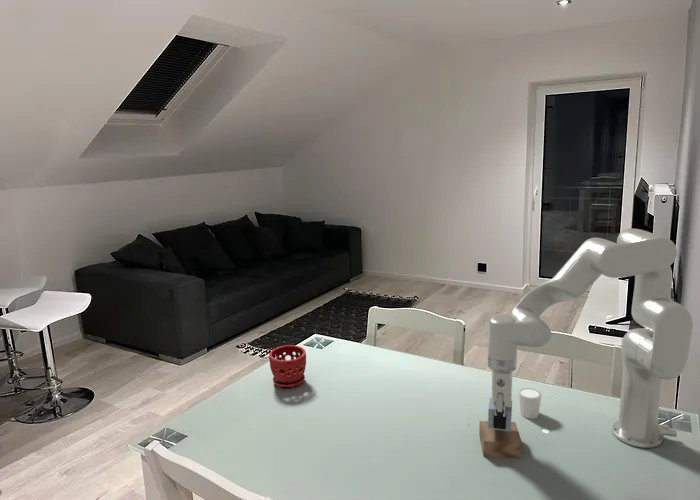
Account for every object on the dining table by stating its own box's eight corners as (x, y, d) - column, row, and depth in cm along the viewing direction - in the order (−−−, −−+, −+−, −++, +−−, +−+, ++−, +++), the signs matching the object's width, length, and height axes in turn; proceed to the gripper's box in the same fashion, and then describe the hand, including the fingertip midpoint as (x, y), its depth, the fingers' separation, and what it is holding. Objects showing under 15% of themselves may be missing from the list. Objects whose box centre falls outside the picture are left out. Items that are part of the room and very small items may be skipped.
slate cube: (511, 420, 146) (512, 400, 144) (510, 431, 140) (511, 411, 139) (489, 417, 147) (489, 397, 146) (487, 428, 142) (488, 408, 141)
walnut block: (514, 437, 150) (515, 422, 148) (521, 459, 140) (522, 442, 139) (479, 436, 151) (479, 421, 150) (483, 457, 141) (483, 441, 140)
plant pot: (263, 385, 186) (261, 354, 183) (288, 371, 196) (285, 342, 194) (291, 395, 179) (289, 362, 176) (314, 379, 189) (313, 349, 186)
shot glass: (542, 420, 157) (543, 399, 156) (518, 418, 159) (519, 397, 157) (538, 408, 164) (539, 388, 162) (516, 407, 165) (516, 387, 164)
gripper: (516, 377, 131) (513, 441, 134) (516, 350, 146) (514, 408, 150) (485, 374, 133) (483, 437, 137) (489, 347, 149) (487, 404, 153)
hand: (500, 421), depth 144 cm, fingers closed on slate cube, 6 cm apart
